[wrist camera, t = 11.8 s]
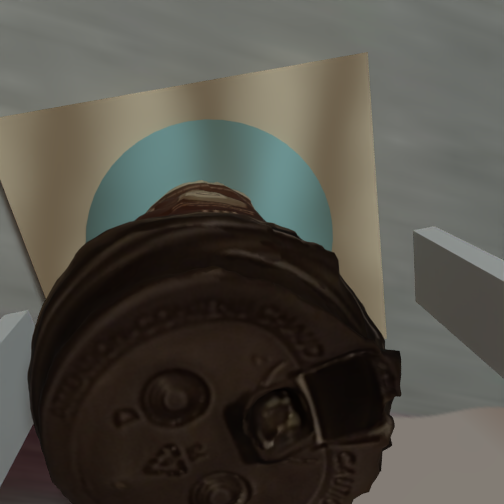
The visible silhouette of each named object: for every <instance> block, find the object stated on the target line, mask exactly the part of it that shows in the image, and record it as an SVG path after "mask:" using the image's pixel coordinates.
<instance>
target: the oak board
mask: <svg viewBox="0 0 504 504" xmlns="http://www.w3.org/2000/svg"><path fill="white" fill-rule="evenodd" d="M0 180H1V183H2V185H3V188H4V191H5V193H6V196H7V199H8V201H9V204H10V206H11V209H12V212H13V214H14V217H15V219H16V222H17V225H18V227H19V230H20V232H21V235H22V238H23V240H24V243H25V246H26V248H27V251H28V253H29V256H30V259H31V261H32V264H33V266H34V269H35V272H36V274H37V277H38V279H39V282H40V285H41V287H42V290H43V293H44V295H45V298H47V296H48V295H49V293H50V291H51V289H52V287H53V286H54V284H55V282H56V281H57V279H58V278H59V277H60V276H61V275H62V274H63V272H64V271H65V270H66V269H67V267H68V266H69V264H70V262H71V261H72V259H73V258H74V256H75V254H76V253H77V251H78V250H79V249H80V248H81V247H82V246H83V245H84V244H85V243H86V242H88V241H90V240H91V239H93V238H95V237H97V236H98V235H100V234H101V233H103V232H104V231H106V230H108V229H111V228H114V227H116V226H119V225H122V224H124V223H127V222H130V221H135V219H137V218H138V217H139V216H141V215H143V214H145V213H146V212H147V211H148V209H149V208H150V207H151V206H152V205H153V204H154V203H155V202H156V201H158V200H159V199H160V198H161V197H162V196H164V195H165V194H166V193H167V192H168V191H170V190H171V189H173V188H174V187H176V186H178V185H181V184H183V183H187V182H195V181H198V180H203V181H207V182H209V183H215V182H219V183H221V184H224V185H225V186H227V187H229V188H231V189H234V190H237V191H240V192H242V193H244V194H245V195H246V196H248V197H249V198H250V199H251V203H252V205H253V207H254V208H255V210H256V211H257V212H258V213H259V214H260V216H261V217H262V218H263V219H264V220H265V221H266V222H271V223H275V224H277V225H279V226H282V227H285V228H288V229H291V230H293V231H295V232H296V233H297V235H298V236H299V237H300V238H301V239H302V240H304V241H307V242H315V243H317V244H319V245H322V246H323V247H324V249H326V250H329V251H331V252H334V253H335V254H336V256H337V258H338V260H339V272H340V275H341V276H342V278H343V279H344V281H345V282H346V283H347V284H348V285H349V287H350V288H351V289H352V290H353V292H354V293H355V295H356V296H357V297H358V299H359V300H360V302H361V303H362V304H363V305H364V307H365V310H366V312H367V314H368V316H369V317H370V318H371V320H372V321H373V322H374V324H375V325H376V327H377V328H378V329H379V331H380V332H381V333H382V335H383V337H384V339H386V338H387V337H386V322H385V307H384V292H383V277H382V262H381V247H380V232H379V217H378V202H377V187H376V172H375V157H374V142H373V127H372V112H371V97H370V82H369V67H368V52H366V53H361V54H355V55H349V56H344V57H338V58H332V59H327V60H321V61H315V62H310V63H304V64H298V65H293V66H287V67H281V68H276V69H270V70H264V71H259V72H253V73H247V74H242V75H236V76H231V77H225V78H219V79H214V80H208V81H202V82H197V83H191V84H185V85H180V86H174V87H168V88H163V89H157V90H151V91H146V92H140V93H134V94H129V95H123V96H117V97H112V98H106V99H101V100H95V101H89V102H84V103H78V104H72V105H67V106H61V107H55V108H50V109H44V110H38V111H33V112H27V113H21V114H16V115H10V116H4V117H0Z"/></svg>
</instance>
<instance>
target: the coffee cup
mask: <svg viewBox="0 0 504 504" xmlns="http://www.w3.org/2000/svg"><path fill="white" fill-rule="evenodd" d="M400 380H401V356H400V351H395V350H386V349H385V340H384V337H383V335H382V333H381V332H380V331H379V329H378V328H377V327H376V325H375V324H374V322H373V321H372V320H371V318H370V317H369V316H368V314H367V312H366V310H365V307H364V305H363V304H362V303H361V302H360V300H359V299H358V297H357V296H356V295H355V293H354V292H353V290H352V289H351V288H350V287H349V285H348V284H347V283H346V282H345V281H344V279H343V278H342V276H341V275H340V272H339V260H338V258H337V256H336V254H335V253H334V252H331V251H329V250H326V249H324V247H323V246H322V245H319V244H317V243H315V242H307V241H304V240H302V239H301V238H300V237H299V236H298V235H297V233H296V232H295V231H293V230H291V229H288V228H285V227H282V226H279V225H277V224H275V223H271V222H266V221H265V220H264V219H263V218H262V217H261V216H260V214H259V213H258V212H257V211H256V210H255V208H254V207H253V205H252V203H251V199H250V198H249V197H248V196H246V195H245V194H244V193H242V192H240V191H237V190H234V189H231V188H229V187H227V186H225V185H224V184H221V183H219V182H215V183H209V182H207V181H203V180H198V181H195V182H187V183H183V184H181V185H178V186H176V187H174V188H173V189H171V190H170V191H168V192H167V193H166V194H165V195H164V196H162V197H161V198H160V199H159V200H158V201H156V202H155V203H154V204H153V205H152V206H151V207H150V208H149V209H148V211H147V212H146V213H145V214H143V215H141V216H139V217H138V218H137V219H135V221H130V222H127V223H124V224H122V225H119V226H116V227H114V228H111V229H108V230H106V231H104V232H103V233H101V234H100V235H98V236H97V237H95V238H93V239H91V240H90V241H88V242H86V243H85V244H84V245H83V246H82V247H81V248H80V249H79V250H78V251H77V253H76V254H75V256H74V258H73V259H72V261H71V262H70V264H69V266H68V267H67V269H66V270H65V271H64V272H63V274H62V275H61V276H60V277H59V278H58V279H57V281H56V282H55V284H54V286H53V287H52V289H51V291H50V293H49V295H48V296H47V298H46V300H45V302H44V304H43V305H42V308H41V310H40V313H39V316H38V319H37V323H36V325H35V329H34V333H33V336H32V342H31V360H30V364H29V369H28V374H27V381H28V389H29V398H30V410H31V415H32V419H33V423H34V426H35V430H36V433H37V436H38V438H39V440H40V445H41V449H42V452H43V454H44V456H45V461H46V464H47V468H48V470H49V473H50V477H51V480H52V482H53V483H54V484H55V485H56V486H57V488H58V489H60V491H61V492H62V494H63V495H64V496H65V497H66V498H68V499H69V500H70V502H71V503H73V504H352V502H353V499H355V498H356V497H358V496H360V495H361V494H363V493H367V492H369V490H370V488H371V485H372V483H373V482H374V481H375V479H376V478H377V476H378V474H379V472H380V471H381V463H382V451H384V450H386V449H387V448H389V447H391V446H392V442H391V438H390V437H391V434H392V432H393V429H394V420H393V417H392V416H390V409H391V404H392V402H393V399H394V397H395V396H399V397H400V396H401V390H400Z"/></svg>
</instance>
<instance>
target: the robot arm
mask: <svg viewBox="0 0 504 504" xmlns="http://www.w3.org/2000/svg"><path fill="white" fill-rule="evenodd" d="M413 240H414V268H415V296H416V302H417V303H418V304H419V305H421V306H422V307H423V308H424V309H425V310H426V311H427V312H429V313H430V314H431V315H432V316H433V317H434V318H435V319H437V320H438V321H439V322H440V323H441V324H442V325H443V326H445V327H446V328H447V329H448V330H449V331H450V332H451V333H453V334H454V335H455V336H456V337H457V338H458V339H459V340H460V341H462V342H463V343H464V344H465V345H466V346H467V347H468V348H470V349H471V350H472V351H473V352H474V353H475V354H476V355H478V356H479V357H480V358H481V359H482V360H483V361H484V362H486V363H487V364H488V365H489V366H490V367H491V368H492V369H494V370H495V371H496V372H497V373H498V374H499V375H500V376H502V377H503V378H504V260H502V259H500V258H498V257H496V256H494V255H492V254H490V253H488V252H486V251H484V250H482V249H480V248H478V247H475V246H473V245H471V244H469V243H467V242H465V241H463V240H461V239H459V238H457V237H455V236H453V235H451V234H449V233H447V232H445V231H443V230H441V229H439V228H437V227H435V226H433V227H428V228H423V229H418V230H413ZM34 329H35V325H34V322H33V320H32V317H31V315H30V312H29V310H26V311H21V312H17V313H12V314H7V315H4V316H3V317H2V318H1V319H0V487H1V485H2V483H3V481H4V479H5V477H6V475H7V473H8V471H9V469H10V468H11V466H12V464H13V462H14V460H15V458H16V456H17V454H18V452H19V450H20V448H21V446H22V445H23V443H24V441H25V439H26V437H27V435H28V433H29V431H30V429H31V427H32V425H33V419H32V415H31V410H30V398H29V389H28V381H27V374H28V369H29V364H30V360H31V342H32V336H33V333H34Z"/></svg>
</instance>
